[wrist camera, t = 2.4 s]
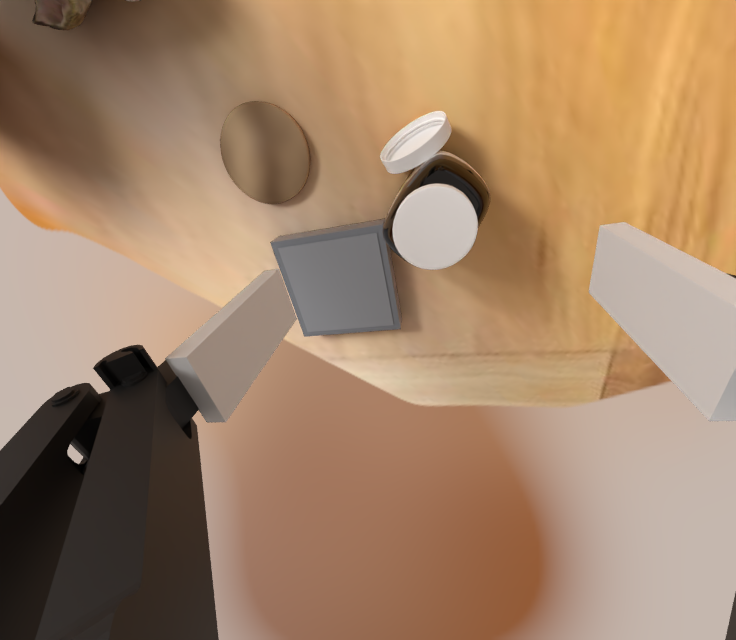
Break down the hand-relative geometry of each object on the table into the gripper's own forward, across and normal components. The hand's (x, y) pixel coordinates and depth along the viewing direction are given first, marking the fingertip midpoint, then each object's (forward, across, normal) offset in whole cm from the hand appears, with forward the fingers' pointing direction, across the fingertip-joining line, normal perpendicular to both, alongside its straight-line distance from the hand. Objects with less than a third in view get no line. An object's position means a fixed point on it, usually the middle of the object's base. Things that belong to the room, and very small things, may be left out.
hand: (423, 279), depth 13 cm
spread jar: (+25, 0, 0) cm, 25 cm away
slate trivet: (+25, -12, -10) cm, 29 cm away
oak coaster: (+25, -17, +6) cm, 31 cm away
